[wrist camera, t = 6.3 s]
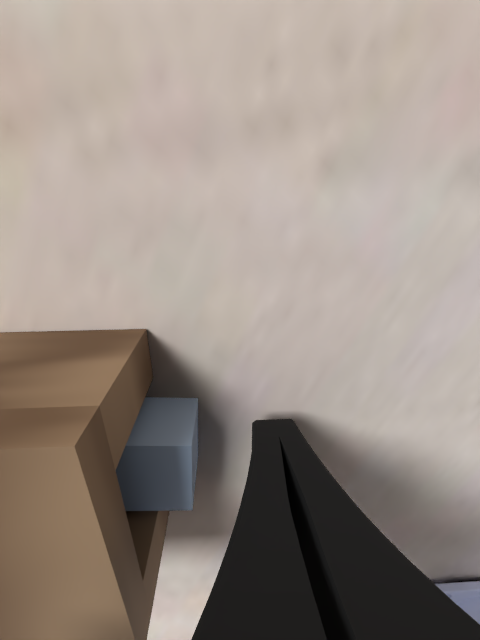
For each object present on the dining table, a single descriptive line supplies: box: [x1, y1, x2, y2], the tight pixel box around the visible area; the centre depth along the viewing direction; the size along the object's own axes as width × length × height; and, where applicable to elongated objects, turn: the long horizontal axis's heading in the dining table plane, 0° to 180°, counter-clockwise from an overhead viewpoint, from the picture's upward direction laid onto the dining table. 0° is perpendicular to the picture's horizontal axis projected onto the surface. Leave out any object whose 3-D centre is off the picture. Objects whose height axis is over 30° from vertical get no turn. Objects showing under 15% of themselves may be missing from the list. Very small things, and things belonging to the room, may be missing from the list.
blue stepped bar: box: [116, 397, 198, 511], centre depth 9 cm, size 10×3×2 cm, turn 87°
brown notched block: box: [0, 329, 169, 640], centre depth 8 cm, size 6×8×5 cm
